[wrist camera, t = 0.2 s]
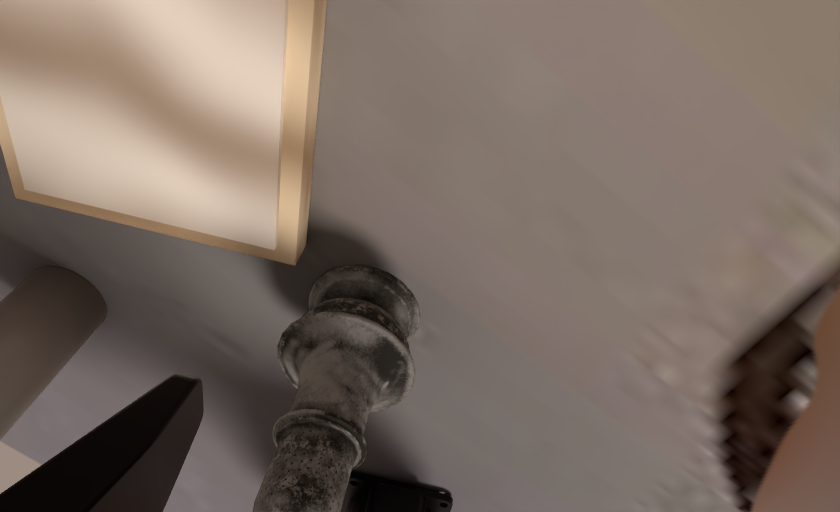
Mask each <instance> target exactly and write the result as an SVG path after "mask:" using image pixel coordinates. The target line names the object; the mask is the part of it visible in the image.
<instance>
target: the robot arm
mask: <svg viewBox="0 0 840 512" xmlns="http://www.w3.org/2000/svg"><path fill="white" fill-rule="evenodd" d="M202 416H203V388H202V381H201V380H200V379H199V378H197V377H193V376H189V375H185V374H181V373H177V374H174V375H172V376H170V377H169V378H167V379H166V380H164V381H163V382H161V383H160V384H158V385H157V386H156V387H154V388H153V389H151V390H150V391H148V392H147V393H145V394H144V395H143V396H141V397H140V398H138V399H137V400H135V401H134V402H132V403H131V404H130V405H128V406H127V407H125V408H124V409H122V410H121V411H119V412H118V413H117V414H115V415H114V416H112V417H111V418H109V419H108V420H106V421H105V422H103V423H102V424H101V425H99V426H98V427H96V428H95V429H93V430H92V431H90V432H89V433H88V434H86V435H85V436H83V437H82V438H80V439H79V440H77V441H76V442H75V443H73V444H72V445H70V446H69V447H67V448H66V449H64V450H63V451H62V452H60V453H59V454H57V455H56V456H54V457H53V458H51V459H50V460H49V461H47V462H46V463H44V464H43V465H41V466H40V467H38V468H37V469H36V470H34V471H33V472H31V473H30V474H28V475H27V476H25V477H24V478H23V479H21V480H20V481H18V482H17V483H15V484H14V485H12V486H11V487H10V488H8V489H7V490H5V491H4V492H2V493H1V494H0V512H163V510H164V507H165V505H166V503H167V501H168V498H169V496H170V494H171V491H172V489H173V487H174V484H175V482H176V480H177V477H178V475H179V473H180V470H181V468H182V466H183V463H184V461H185V459H186V456H187V454H188V451H189V449H190V447H191V444H192V442H193V440H194V437H195V435H196V433H197V430H198V428H199V426H200V423H201V420H202ZM452 502H453V499H452V497H450V496H449V495H446V494H442V493H438V492H434V491H430V490H426V489H421V488H417V487H413V486H409V485H405V484H401V483H397V482H393V481H389V480H385V479H381V478H376V477H372V476H368V475H364V474H360V473H356V472H351V474H350V478H349V482H348V485H347V489H346V493H345V496H344V500H343V504H342V507H341V511H340V512H450V511H451V508H452Z"/></svg>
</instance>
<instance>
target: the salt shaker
mask: <svg viewBox="0 0 840 512" xmlns="http://www.w3.org/2000/svg"><path fill="white" fill-rule="evenodd" d="M419 320H420V312H419V306H418V303H417V301H416V299H415V297H414V296H413V294H412V292H411V291H410V290H409V289H408V288H407V287H406V286H405V285H404V284H403V283H402V282H401V281H399V280H398V279H396V278H395V277H393V276H392V275H391V274H388V273H386V272H383V271H381V270H379V269H376V268H371V267H366V266H361V265H360V266H343V267H339V268H335V269H332V270H330V271H328V272H327V273H325V274H323V275H321V277H320V278H319V279H318V280H317V281H316V282H315V283H314V285H313V287H312V289H311V292H310V294H309V311H308V312H306V313H305V314H304V315H303V316H302V317H301V318H300V319H298V320H297V321H295V322H293V323H291V325H290V326H289V327H288V328H287V329H286V330H285V331H284V332H283V333H282V336H281V338H280V341H279V344H278V361H279V363H280V366H281V369H282V371H283V373H284V374H285V376H286V377H287V378H288V380H289V381H290V383H291V384H292V385H293V386H294V387H295V388H297V393H296V395H295V398H294V400H293V403H292V405H291V408H290V410H289V413H286V414H284V415H282V416H281V417H280V418H279V419H278V420H277V421H276V423H275V425H274V427H273V430H272V438H273V441H274V443H275V445H276V447H277V448H276V450H275V453H274V455H273V457H272V460H271V462H270V465H269V467H268V470H267V472H266V475H265V477H264V480H263V482H262V485H261V487H260V490H259V492H258V494H257V497H256V499H255V502H254V507H253V512H340V511H341V507H342V504H343V500H344V496H345V493H346V489H347V485H348V482H349V478H350V474H351V471H352V470H353V469H355V468H357V467H358V466H359V465H361V464H362V463H363V461H364V460H365V458H366V455H367V448H368V447H367V443H366V440H365V438H364V436H363V434H364V431H365V427H366V423H367V420H368V416H369V412H376V411H381V410H384V409H386V408H389V407H391V406H394V405H396V404H397V403H399V402H400V401H401V400H402V399H404V398H405V397H406V396H407V394H408V393H409V391H410V390H411V388H412V386H413V382H414V376H415V369H414V363H413V359H412V357H411V355H410V350H409V345H408V341H410V340H411V339H412V338H413V336H414V335H415V333H416V331H417V329H418V326H419Z"/></svg>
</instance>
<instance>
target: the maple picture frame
mask: <svg viewBox="0 0 840 512" xmlns="http://www.w3.org/2000/svg"><path fill="white" fill-rule="evenodd" d="M326 5H327V0H0V144H1V148H2V151H3V155H4V159H5V162H6V166H7V169H8V173H9V177H10V180H11V184H12V187H13V191H14V195H15V198H18V199H22V200H26V201H30V202H34V203H38V204H43V205H47V206H51V207H55V208H59V209H63V210H67V211H71V212H76V213H80V214H84V215H88V216H92V217H96V218H100V219H104V220H109V221H113V222H117V223H121V224H125V225H129V226H133V227H137V228H142V229H146V230H150V231H154V232H158V233H162V234H166V235H170V236H175V237H179V238H183V239H187V240H191V241H195V242H199V243H203V244H208V245H212V246H216V247H220V248H224V249H228V250H232V251H236V252H241V253H245V254H249V255H253V256H257V257H261V258H265V259H269V260H274V261H278V262H282V263H286V264H290V265H294V266H295V265H296V263H297V261H298V259H299V257H300V256H301V254H302V252H303V250H304V248H305V246H306V239H307V228H308V216H309V204H310V192H311V181H312V169H313V157H314V145H315V134H316V122H317V110H318V99H319V87H320V75H321V63H322V52H323V40H324V28H325V16H326Z"/></svg>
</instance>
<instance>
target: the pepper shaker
mask: <svg viewBox="0 0 840 512" xmlns="http://www.w3.org/2000/svg"><path fill="white" fill-rule="evenodd" d="M106 314H107V308H106V304H105V301H104V299H103V297H102V296H101V294H100V293H99V292H98V290H97V289H96V288H95V287H94V286H93V285H92V284H91V283H89V282H88V281H87V280H86V279H84V278H83V277H81V276H79V275H78V274H76V273H74V272H72V271H69V270H66V269H63V268H59V267H42V268H39V269H37V270H35V271H34V272H33V273H32V274H31V275H30V276H29V277H27V278H26V279H25V280H24V281H23V282H22V283H21V284H20V285H18V286H17V287H16V288H15V289H14V290H13V291H12V292H11V293H10V294H8V295H7V296H6V297H5V298H4V299H3V300H2V301H1V302H0V440H1V439H2V437H3V436H4V435H5V434H6V433H7V432H8V431H9V429H10V428H11V427H12V426H13V425H14V424H15V422H16V421H17V420H18V419H19V418H20V417H21V415H22V414H23V413H24V412H25V411H26V410H27V409H28V407H29V406H30V405H31V404H32V403H33V402H34V400H35V399H36V398H37V397H38V396H39V395H40V393H41V392H42V391H43V390H44V389H45V388H46V387H47V385H48V384H49V383H50V382H51V381H52V380H53V378H54V377H55V376H56V375H57V374H58V373H59V371H60V370H61V369H62V368H63V367H64V366H65V365H66V363H67V362H68V361H69V360H70V359H71V358H72V356H73V355H74V354H75V353H76V352H77V351H78V349H79V348H80V347H81V346H82V345H83V344H84V343H85V341H86V340H87V339H88V338H89V337H90V336H91V334H92V333H93V332H94V331H95V330H96V329H97V328H98V326H99V325H100V324H101V323H102V322H103V321H104V319H105V317H106Z"/></svg>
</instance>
